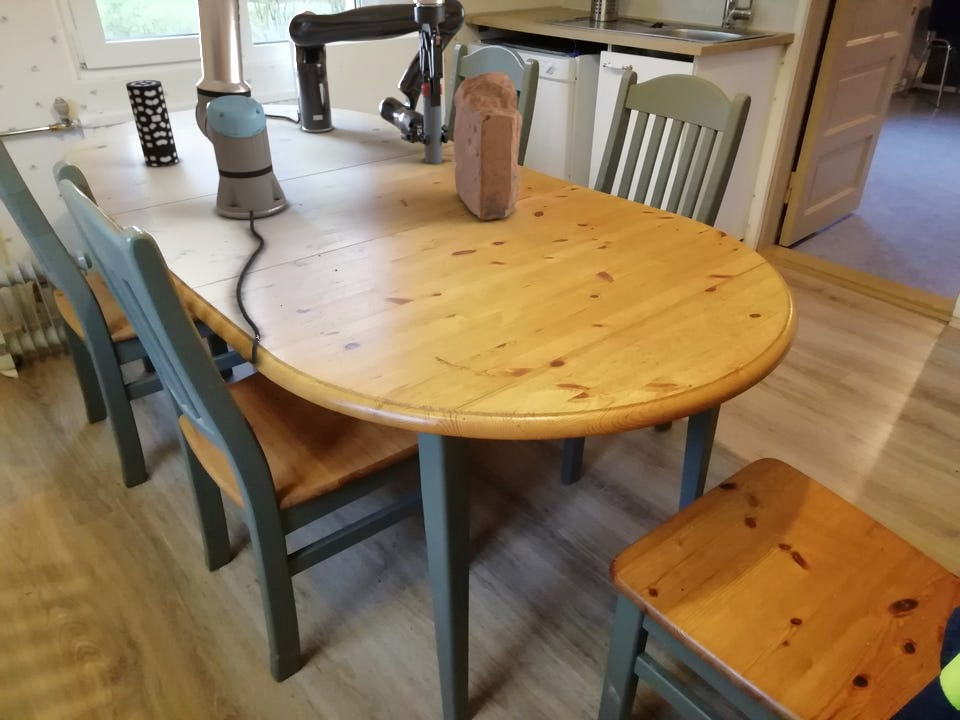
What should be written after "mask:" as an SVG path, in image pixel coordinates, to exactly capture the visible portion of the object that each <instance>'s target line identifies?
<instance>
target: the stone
mask: <svg viewBox="0 0 960 720" xmlns="http://www.w3.org/2000/svg"><path fill="white" fill-rule="evenodd" d="M515 87H516V86H515V84H514V81H512V80H510V77H509V76H508V75H507V74H506V72H502V71H495V72H493V71H492V72H487V73H483V74H479V75H476V76H472V77H466V78H465V79H463V80H462V81H461V83H460V85H459V86H458V88H457V90H456V92H455V94H454V97H453V99H454V100H453V101H454V106H455V118H454V128H453V129H454V131H453V153H454V162H455V166H454V185H455V190H456V193H457V195H458V196H459V197H460V199H461V201H462V202H463V203H464V204H465V205H466V207H467V208H468V209H469V211H470V212H471V213H472V214H473V215H474V216H475V215H476V216H477V218H478V219H479V220H481V221H492V220H496V219H505V218H507V217H508V216H509V215H510V214H512V213H513V212H514V211H515V209H516V203H517V201H518V196H519V192H518V190H519V182H520V174H519V173H520V172H519V167H518V164H519V161H518V160H519V153H520V140H521V133H522V128H523V115H522V114H520V112H519V111H518V109H517V107H518V96H517V91H516V88H515Z"/></svg>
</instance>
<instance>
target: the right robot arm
mask: <svg viewBox="0 0 960 720" xmlns="http://www.w3.org/2000/svg"><path fill="white" fill-rule="evenodd" d="M416 5H417V4H416V3H384V4H374V5H373V4H371V5H365V6H359V7H355V8H351V9H348V10H345V11H341V12H337V13H329V14H328V13H327V14H324V13H323V14H317V13H315V12H313V11H311V10H302V11H299V12H298V13H296V14H295V15H293V17H291V19H290V20H289V23H288V27H287V33H288V36H289V38H290V40H291V41H292V43H293V45H294V69H295V79H296V85H297V92H298V96H297V105H298V109H297V110H296V112H297V121H296V120H294V119H293V118H292V117H290V116H285V115H276V114H267V113H265V116H266V118H276V119H285V120H288V121H290V122H292V123H295V124H299V123H300V128H301V129H302V131H304V132H307V133H324V132H325V133H326V132H330V131H332V130H333V129H334V126H333V118H332V108H331V107H332V106H331V98H330V97H331V96H330V90H329V89H330V88H329V78H328V68H327V46H326V45H327V44H332V43H339V42H375V41H384V40H392V39H396V38H400V37H404V36H406V35H410V34H413V33H416V32H417V33H418V31H419V30H420V29H422V24H420V23H417V22H415V11H414V7H415V6H416ZM442 6H444V7H445V22H444V23H439V24H438V30H439V32H440V36H442V37H443V43H442V54H443V53H444V52H445V50H446V48H447V47H448V45H449V44H450V43H451V41H452V40H453V39H454V38H455V36H456V35H457V33H458V32H459V31H461V30H462V29H463V27H464V25H465V22H466V10H465V8H464V5H463V4H462V2H461V1H460V0H445V2H444V3H443V4H442ZM422 84H423V74H422V71H421V70H420V49H419V50H418V51H417V52H416V54H415V55H414V56H413V58H412V60H411V61H410V63H409V65H408V66H407V68H406V70H405V71H404V74H403V75H402V77H401V79H400V80H399V82H398V86H397V88H398V90H399V92H400V93H401V94H403V96H404V98H405V103H403V102H401V101H400V100H399V99H397V98H395V97H394V96H387V97H385V98H384V99H383V100H382V101H381V102H380V104H379V108H378V112H379V116H380V117H381V118H382V119H383V120H384V121H386V122H387V123H389V124H391V125H392V126H394V127H396V129H398V130H399V131H400V139H401V140H403V141H404V142H405V141H406V142H408V143H410V144H415V143H418V144H421V145H425V146H427V145H428V137H427V136H425V135H424V119H423V113H421V112H419V111H418V110H416V109H417V106H418V102H419V98H420V96H421V95H422ZM449 139H450V129H449V127H448V125H446V124H442V144H444V145H445V144H448V142H449Z"/></svg>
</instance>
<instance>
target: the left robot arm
mask: <svg viewBox="0 0 960 720" xmlns="http://www.w3.org/2000/svg"><path fill="white" fill-rule="evenodd" d="M444 2H445V0H413V4H415V3H416V4H417V5H416V6H415V7H414V11H415V22H417V23H420V24H422V29H420V30H419V31H418V32H417V33H418V38H419V50H420V70H421V71H422V74H423V84H424V83H429V92H430V107H433V106H441V107H442V97H441V98H440V96H441V95H440V84H441V80H442V79H444V63H443V61H444V59H443V53H442V43H443V37H442V36H440V32H439V30H438V24H439V23H444V22H445V7H444V6H442V4H443V3H444ZM196 8H197V9H196V10H197V21H198V33H199V34H198V35H199V45H200V57H201V60H200V61H201V73H202V77H201V79H199V81H198V82H197V83H196V87H195V88H196V98H197V99H196V100H197V102H196V105H195V112H194V113H195V114H194V115H195V122H196V125H197V127H198V128H199V130H200V132H201V133H202V135H203V136H204V137H205V138H206V139H207V140H208V141H209V142H210V143H211V144H212V147H213V151H214V156H215V161H216V167H217V169H218V170H217V172H218V185H217V193H216V201H215V203H216V204H215V206H216V210H217V213H218V214H219V215H221V216H223V217H225V218H229V219H236V220H249V228H250V232H251V234H253V236H255V237H256V238H257V239H258V240H259V246H258V247H257V249H255V251H254V252H253V253H252V255H251V256H250V258H249V260H248V261H247V263H246V264H245V266H244V267H243V269H242V271H241V273H240V275H239V278H238V281H237V285H236V293H235V294H236V301H237V305H238V308H239V310H240V313H241V315H242V317H243V319H244V320H245V321H246V323H247V324H248V325H249V326H250V328H251V329H252V331H253V332H254V336H255V338H254V341H253V343H252V348H251V362H252V364H253V365H257V364H258V348H257V346H258V347H259V344H258V341H259V343H260V342H261V333H260V330H259V328H258V326H257V325H256V323H255V322H254V321H253V319H251V318H250V316H249V314H248V312H247V310H246V308H245V306H244V304H243V300H242V286H243V281H244V279H245V276H246V274H247V272H248V270H249V269H250V267H251V266H252V264H253V262H254V261H255V259H256V258H257V256H258V255H259V254H260V253H261V251H262V250H263V248H264V245H265V241H264V238H263V237H262V236H261V235H260V234H259V233H258V232H257V231H256V229H255V220H254V219H260V218H261V219H262V218H265V217H266V218H267V217H270V216H274V215H276V214H278V213H280V212H282V211H283V210H285V209H286V207H287V199H286V194H285V193H284V191H283V189H282V187H281V184H280V182H279V180H278V179H277V177H276V175H275V172H274V167H273V160H272V154H271V147H270V140H269V135H268V134H269V133H268V127H267V117H266V116H265V114H266V113H265V110H264V107H263V105H262V103H261V102H260V101H258V100H257V99H256V98H253V97H252V89H251V86H250V85H249V84H248V82H246V81H245V79H244V69H243V68H244V67H243V49H242V32H241V31H242V29H241V13H240V10H241V9H240V0H196ZM257 335H258V336H259V339H260V340H259V339H258V338H256V337H257Z"/></svg>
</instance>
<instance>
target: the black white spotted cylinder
mask: <svg viewBox="0 0 960 720" xmlns="http://www.w3.org/2000/svg"><path fill="white" fill-rule="evenodd" d="M125 87H126V91H127V95H128V99H129V103H130V107H131V110H132V115H133V118H134V122H135V123H134V124H135V127H136V130H137V134H138V139H139V143H140V146H141V150H142V155H143V158H144V163H145V164H146V165H147V166H151V167H164V166H170V165H174V164H176V163H178V162H179V155H178V150H177V146H176V142H175V137H174V133H173V128H172V125H171V121H170V116H169V111H168V107H167V103H166V98H165V93H164V89H163V84H162V81H161V80H155V79H154V80H153V79H151V80H150V79H145V80H144V79H141V80H134V81H130V82H129V81H128V82H127V83H126V84H125Z"/></svg>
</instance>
